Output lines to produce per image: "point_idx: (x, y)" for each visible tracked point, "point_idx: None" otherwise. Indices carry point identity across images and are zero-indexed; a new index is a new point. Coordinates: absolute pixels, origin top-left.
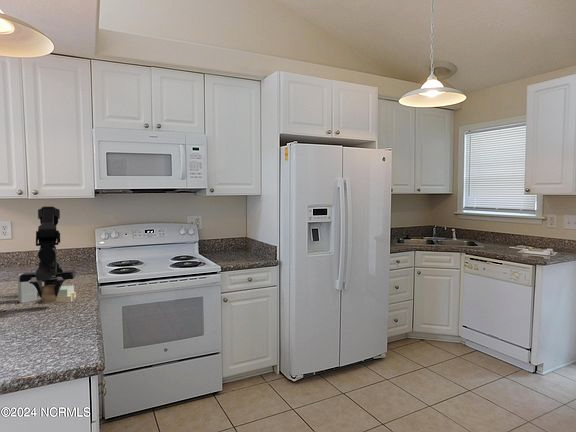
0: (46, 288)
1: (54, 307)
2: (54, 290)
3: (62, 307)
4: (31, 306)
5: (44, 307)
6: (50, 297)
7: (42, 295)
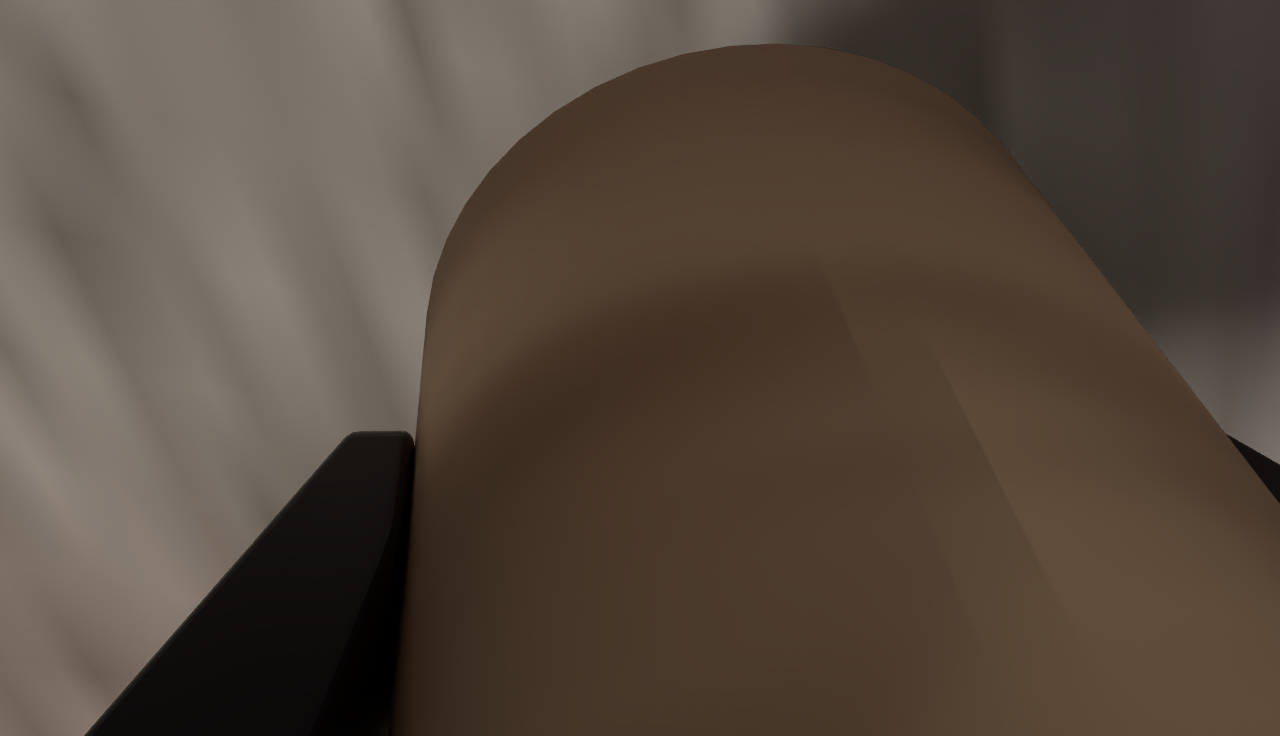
0: (1165, 702)
1: None
2: (425, 707)
3: (167, 91)
4: None
5: None
6: (646, 208)
7: (1178, 375)
